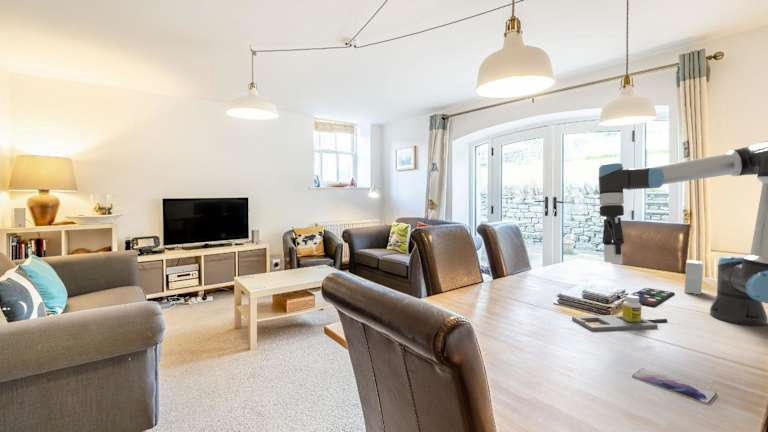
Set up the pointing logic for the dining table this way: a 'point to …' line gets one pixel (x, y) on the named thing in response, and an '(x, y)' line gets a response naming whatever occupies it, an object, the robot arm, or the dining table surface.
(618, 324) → the socket strip
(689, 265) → the skincare box
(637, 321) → the supplement bottle
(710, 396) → the smartphone
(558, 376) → the dining table surface
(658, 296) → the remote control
